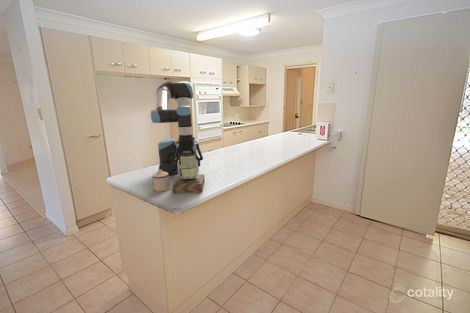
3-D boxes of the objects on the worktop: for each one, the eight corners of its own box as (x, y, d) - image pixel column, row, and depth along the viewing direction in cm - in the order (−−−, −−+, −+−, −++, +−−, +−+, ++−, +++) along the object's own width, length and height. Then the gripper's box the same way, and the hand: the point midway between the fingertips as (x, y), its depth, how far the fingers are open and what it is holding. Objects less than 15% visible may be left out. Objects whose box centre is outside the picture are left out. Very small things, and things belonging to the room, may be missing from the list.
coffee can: (176, 176, 133) (174, 153, 130) (190, 172, 141) (188, 149, 137) (187, 180, 127) (185, 155, 123) (201, 175, 134) (200, 151, 131)
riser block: (173, 193, 128) (172, 184, 126) (178, 182, 143) (178, 174, 142) (202, 192, 128) (201, 182, 127) (204, 181, 144) (204, 173, 142)
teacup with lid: (173, 188, 134) (171, 169, 131) (158, 193, 128) (156, 173, 125) (163, 183, 142) (161, 165, 139) (148, 187, 136) (146, 169, 133)
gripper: (163, 135, 124) (167, 174, 129) (205, 134, 124) (207, 173, 130) (166, 133, 131) (170, 170, 136) (206, 132, 132) (208, 169, 137)
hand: (188, 172), depth 133 cm, fingers closed on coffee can, 10 cm apart
